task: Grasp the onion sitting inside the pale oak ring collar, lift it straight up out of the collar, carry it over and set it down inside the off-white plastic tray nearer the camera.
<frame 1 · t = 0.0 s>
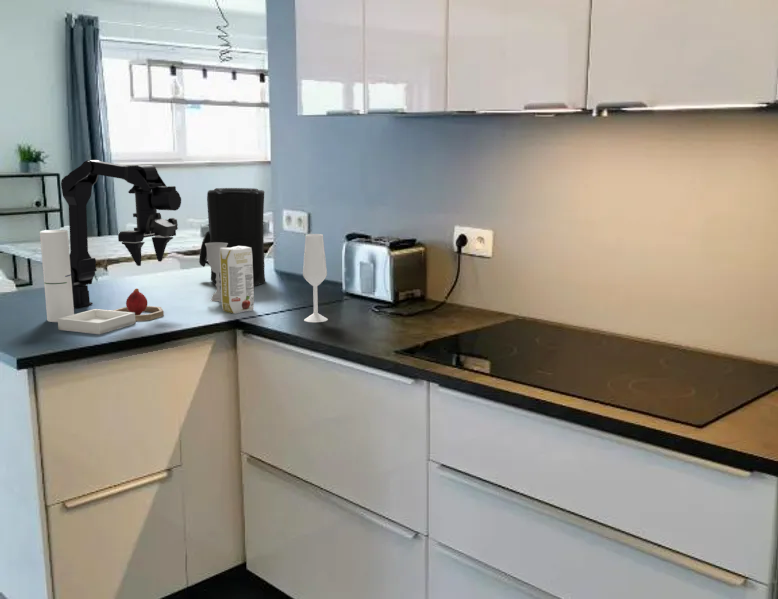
hand: (149, 263, 231), 15 cm above the worktop, tool pointing down, fingers open, 9 cm apart
chalice: (218, 300, 253), on the worktop
coffee maker: (230, 283, 284), on the worktop
onion: (137, 316, 230), resting in ring collar
ring collar: (137, 315, 230), on the worktop
tray: (97, 326, 217), on the worktop
juice carton: (238, 311, 237), on the worktop
cylindrical container: (61, 319, 226), on the worktop
champagne flute: (315, 320, 225), on the worktop
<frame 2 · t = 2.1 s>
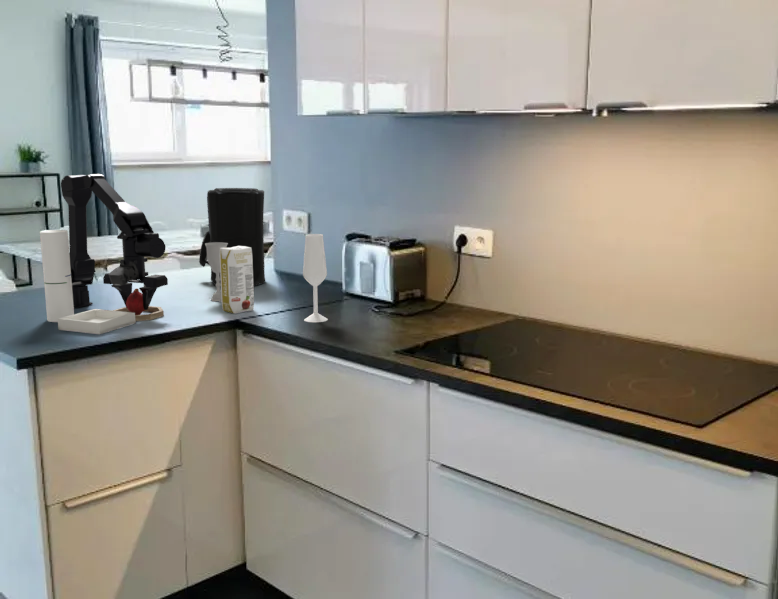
hand: (137, 309, 230), 2 cm above the worktop, tool pointing down, fingers closed on onion, 6 cm apart
onion: (137, 316, 230), resting in ring collar, touching gripper
everything else where it was.
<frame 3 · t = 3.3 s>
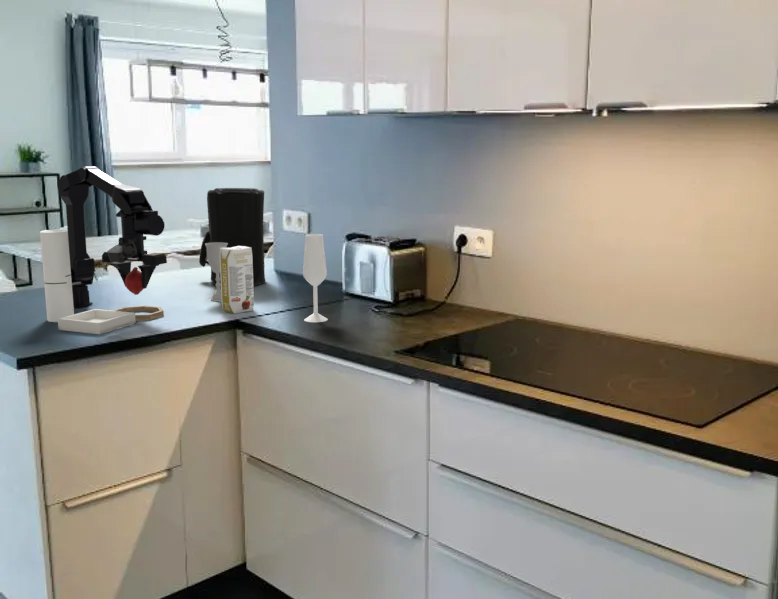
hand: (135, 287, 228), 8 cm above the worktop, tool pointing down, fingers closed on onion, 6 cm apart
onion: (136, 295, 229), point 6 cm above the worktop, touching gripper
everything else where it was.
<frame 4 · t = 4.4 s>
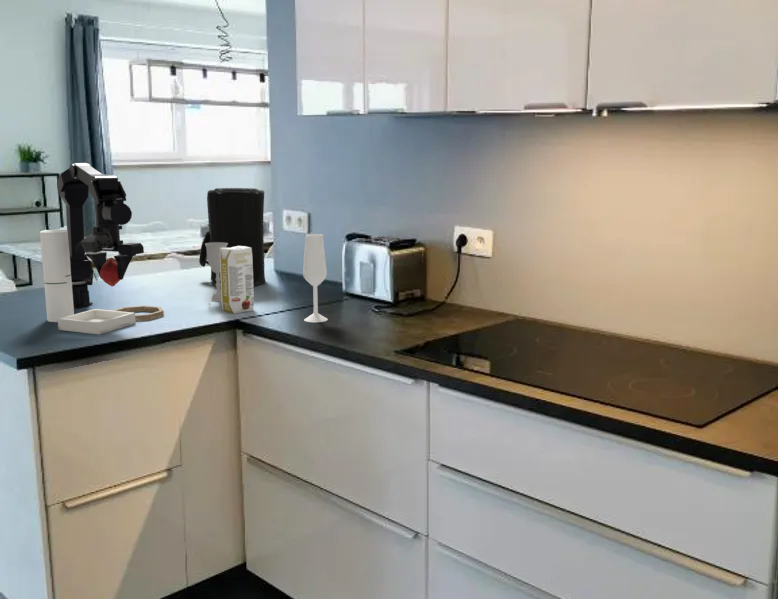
hand: (111, 279, 220), 12 cm above the worktop, tool pointing down, fingers closed on onion, 6 cm apart
onion: (112, 287, 220), point 10 cm above the worktop, touching gripper
everything else where it was.
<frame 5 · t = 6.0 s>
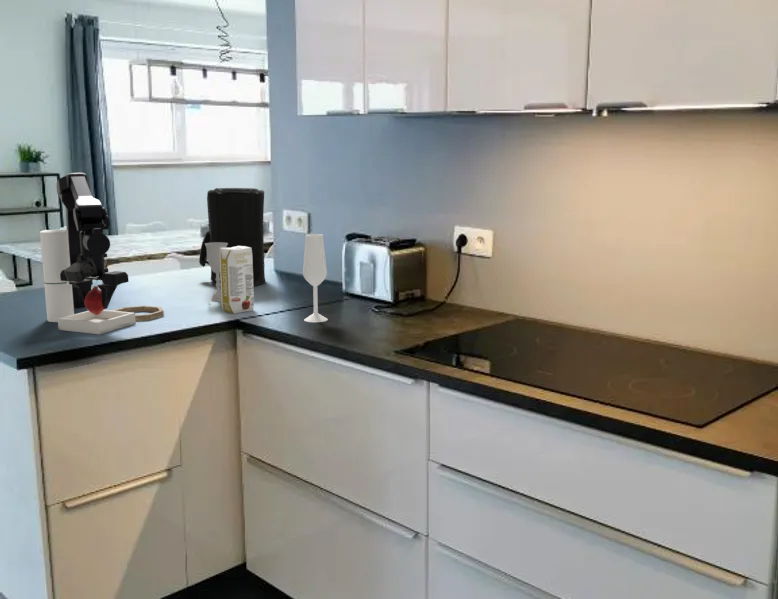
hand: (96, 307, 216), 5 cm above the worktop, tool pointing down, fingers closed on onion, 6 cm apart
onion: (96, 315, 216), point 3 cm above the worktop, touching gripper
everything else where it was.
when the fingers open (4 cm above the worktop, at t = 7.0 s): onion drops 1 cm, resting on tray.
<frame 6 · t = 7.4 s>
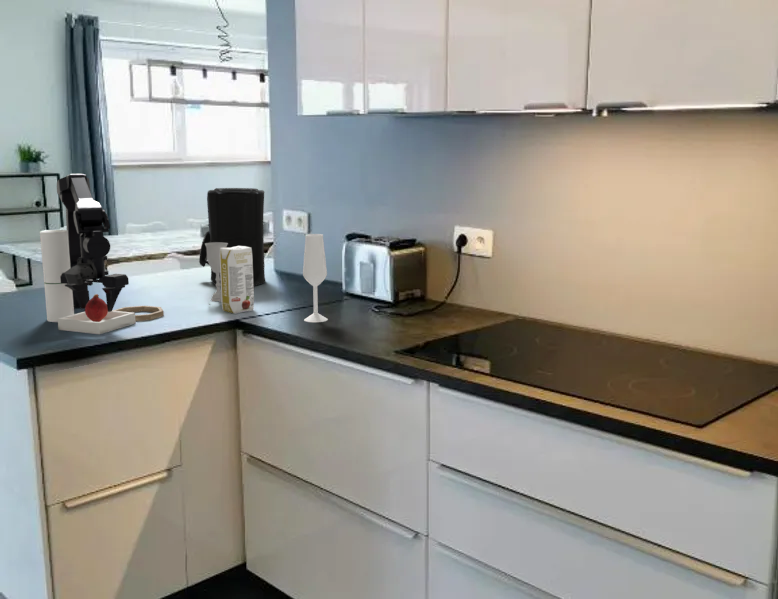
hand: (96, 310, 216), 4 cm above the worktop, tool pointing down, fingers open, 9 cm apart
onion: (97, 324, 217), point 1 cm above the worktop, touching tray
everything else where it was.
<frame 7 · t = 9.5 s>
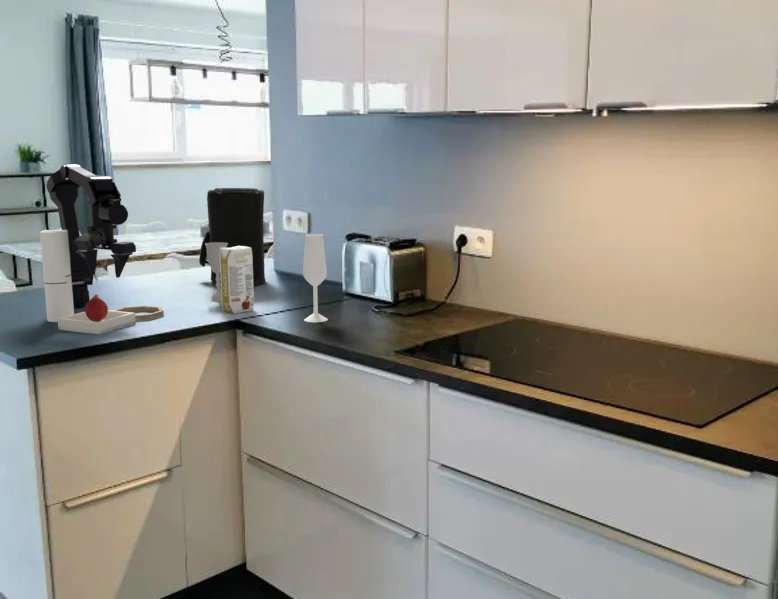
hand: (105, 276, 228), 12 cm above the worktop, tool pointing down, fingers open, 9 cm apart
nothing on the worktop moved.
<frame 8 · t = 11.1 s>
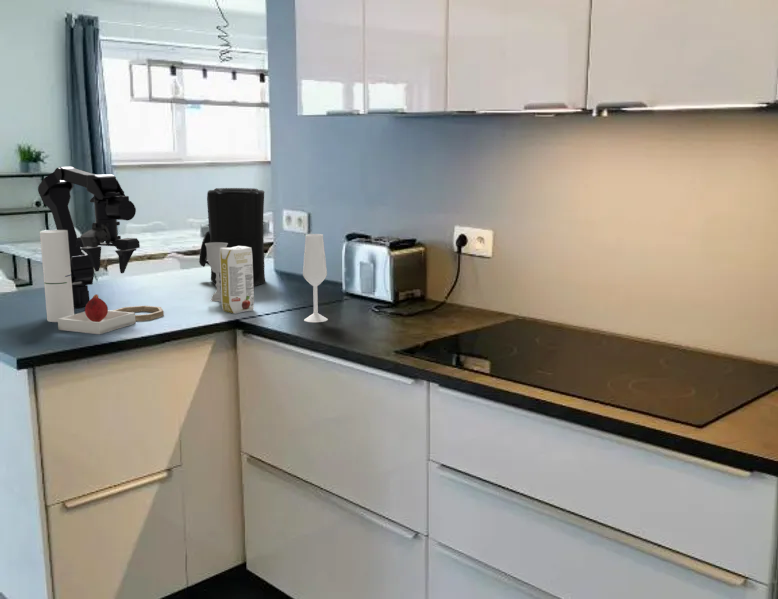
hand: (109, 272, 232), 12 cm above the worktop, tool pointing down, fingers open, 9 cm apart
nothing on the worktop moved.
at the end: onion inside the target area on the tray (0.1 cm from its centre), point 0.6 cm above the tray's base; the gripper is holding nothing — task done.
